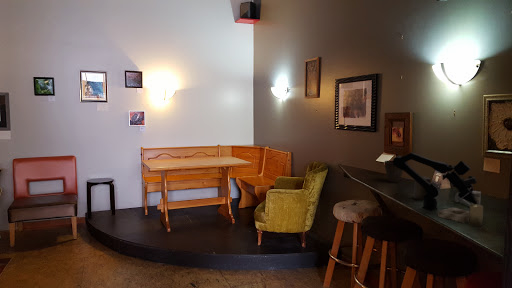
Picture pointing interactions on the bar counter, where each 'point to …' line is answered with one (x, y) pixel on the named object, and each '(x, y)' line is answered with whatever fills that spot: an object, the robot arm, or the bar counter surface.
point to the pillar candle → (420, 190)
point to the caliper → (461, 200)
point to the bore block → (455, 214)
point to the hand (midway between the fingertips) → (477, 202)
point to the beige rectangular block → (476, 215)
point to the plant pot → (392, 172)
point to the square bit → (476, 196)
